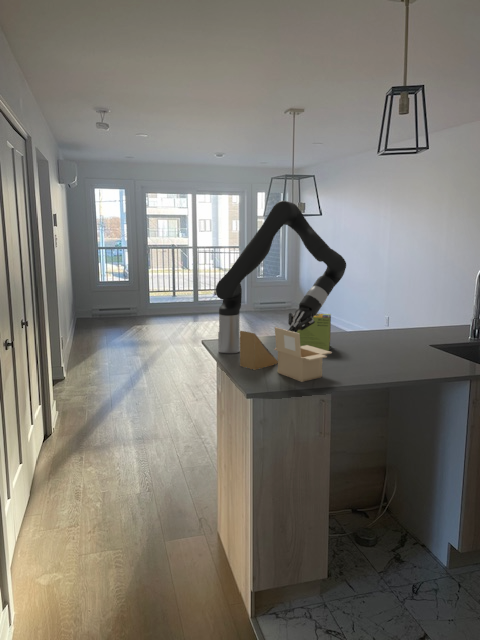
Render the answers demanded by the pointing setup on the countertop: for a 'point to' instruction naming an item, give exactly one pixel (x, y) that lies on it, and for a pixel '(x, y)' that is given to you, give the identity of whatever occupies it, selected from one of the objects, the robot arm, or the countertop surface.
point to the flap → (288, 342)
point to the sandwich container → (254, 352)
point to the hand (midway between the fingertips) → (288, 336)
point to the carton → (302, 363)
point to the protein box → (317, 332)
